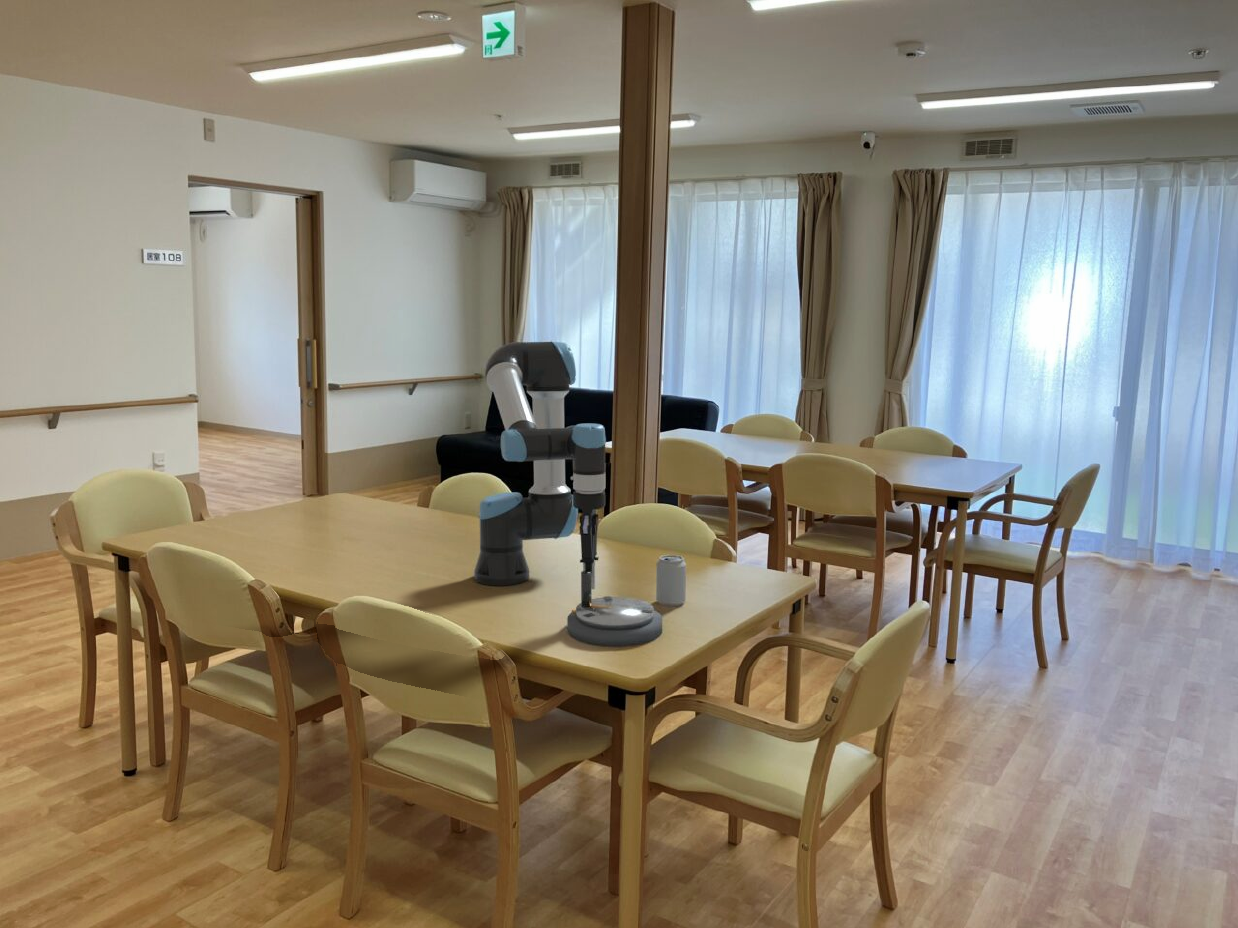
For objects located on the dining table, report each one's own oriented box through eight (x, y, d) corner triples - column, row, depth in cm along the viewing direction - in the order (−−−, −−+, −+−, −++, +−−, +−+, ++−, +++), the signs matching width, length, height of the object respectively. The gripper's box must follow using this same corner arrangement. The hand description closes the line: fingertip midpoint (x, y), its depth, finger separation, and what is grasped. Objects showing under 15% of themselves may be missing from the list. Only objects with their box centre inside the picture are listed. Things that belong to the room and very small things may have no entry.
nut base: (572, 648, 212) (572, 633, 212) (563, 617, 234) (563, 602, 233) (670, 644, 215) (670, 628, 215) (653, 613, 237) (653, 599, 236)
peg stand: (662, 626, 217) (662, 583, 216) (583, 631, 214) (583, 588, 212) (643, 602, 235) (643, 562, 233) (570, 607, 231) (569, 566, 229)
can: (654, 598, 249) (654, 553, 247) (683, 598, 250) (684, 553, 248) (658, 607, 242) (658, 561, 240) (687, 607, 242) (688, 560, 240)
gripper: (577, 484, 232) (578, 579, 236) (568, 495, 219) (569, 595, 223) (608, 485, 231) (608, 581, 235) (601, 496, 218) (601, 597, 222)
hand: (589, 588), depth 229 cm, fingers closed
